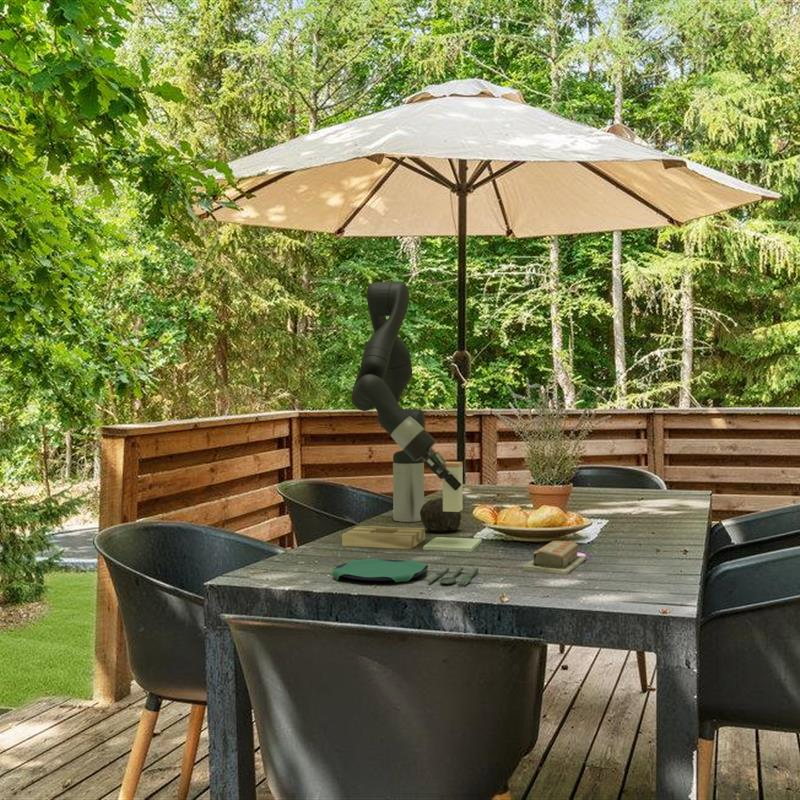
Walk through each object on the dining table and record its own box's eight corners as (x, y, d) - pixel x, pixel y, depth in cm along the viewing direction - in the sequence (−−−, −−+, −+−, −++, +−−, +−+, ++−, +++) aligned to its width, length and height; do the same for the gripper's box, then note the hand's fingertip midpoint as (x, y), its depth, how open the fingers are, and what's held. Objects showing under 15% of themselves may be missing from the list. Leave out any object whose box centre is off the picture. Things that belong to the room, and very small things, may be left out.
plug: (447, 508, 234) (447, 461, 234) (462, 509, 233) (462, 461, 233) (442, 511, 229) (442, 463, 229) (458, 511, 228) (458, 463, 228)
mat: (436, 540, 239) (436, 537, 239) (481, 542, 236) (481, 538, 236) (423, 549, 226) (423, 546, 226) (471, 551, 223) (471, 548, 223)
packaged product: (544, 538, 216) (586, 541, 212) (544, 558, 216) (586, 561, 212) (521, 550, 200) (566, 554, 195) (521, 573, 200) (566, 576, 196)
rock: (467, 526, 257) (462, 491, 256) (452, 537, 247) (447, 501, 246) (434, 527, 261) (429, 493, 261) (418, 539, 251) (413, 503, 250)
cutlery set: (353, 565, 208) (353, 555, 208) (483, 573, 199) (483, 563, 199) (319, 584, 189) (319, 573, 189) (461, 593, 180) (461, 581, 180)
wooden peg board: (359, 537, 245) (359, 525, 245) (424, 539, 240) (424, 528, 240) (342, 545, 231) (342, 534, 231) (411, 549, 227) (411, 536, 227)
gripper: (418, 429, 225) (467, 479, 223) (427, 427, 239) (473, 473, 237) (397, 450, 226) (445, 500, 224) (407, 447, 240) (453, 494, 238)
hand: (459, 486), depth 230 cm, fingers closed on plug, 5 cm apart
